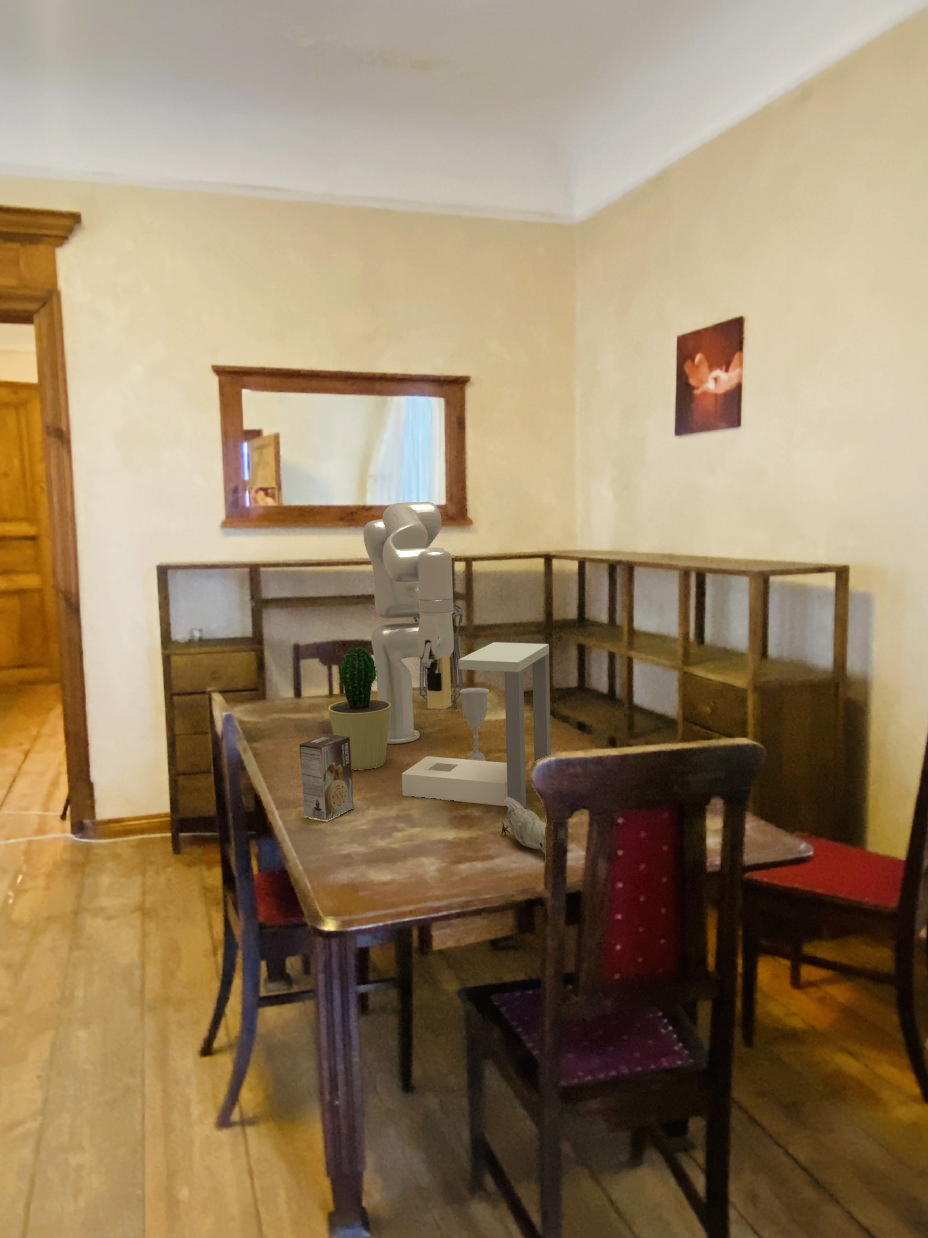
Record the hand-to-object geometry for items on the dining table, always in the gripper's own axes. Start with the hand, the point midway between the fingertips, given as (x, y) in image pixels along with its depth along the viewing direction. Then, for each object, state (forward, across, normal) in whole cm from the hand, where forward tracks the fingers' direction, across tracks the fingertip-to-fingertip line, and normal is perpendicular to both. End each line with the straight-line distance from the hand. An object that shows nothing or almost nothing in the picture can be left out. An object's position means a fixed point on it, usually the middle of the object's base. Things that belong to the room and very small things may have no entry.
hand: (438, 687), depth 203 cm
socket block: (+23, 0, +5) cm, 24 cm away
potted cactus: (+23, -12, -27) cm, 38 cm away
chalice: (+23, -21, 0) cm, 32 cm away
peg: (+4, 0, 0) cm, 4 cm away
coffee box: (+24, +22, -17) cm, 36 cm away
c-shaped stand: (+23, 0, +16) cm, 28 cm away
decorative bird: (+24, +26, +29) cm, 46 cm away
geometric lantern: (+23, -75, -32) cm, 85 cm away
